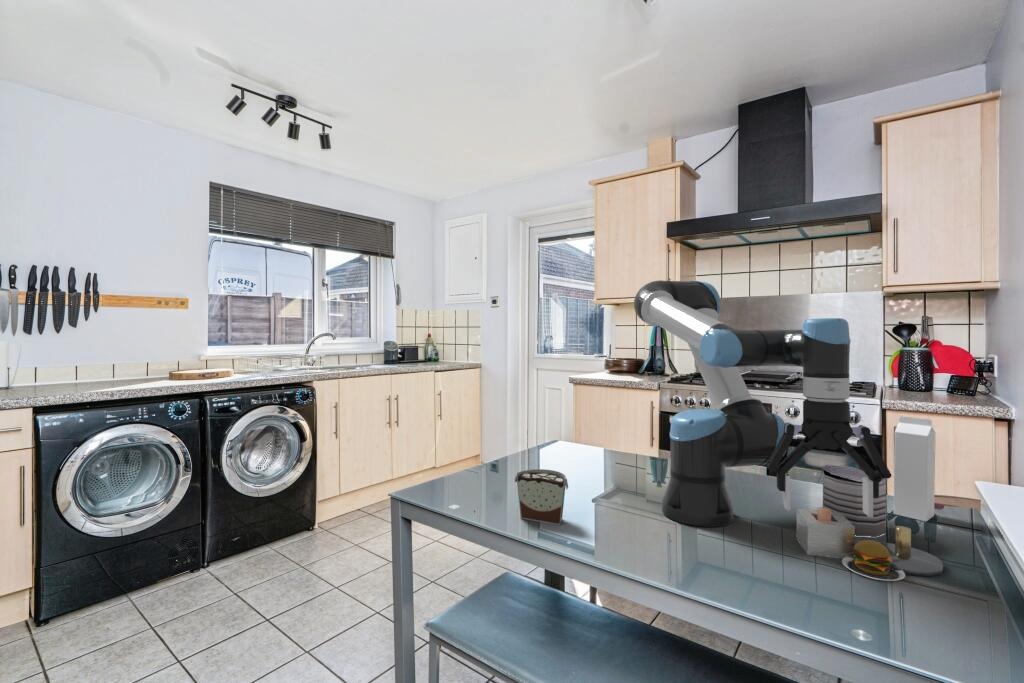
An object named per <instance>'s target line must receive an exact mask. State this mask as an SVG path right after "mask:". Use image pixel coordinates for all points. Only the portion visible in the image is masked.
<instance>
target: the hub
mask: <svg viewBox="0 0 1024 683" xmlns="http://www.w3.org/2000/svg"><path fill="white" fill-rule="evenodd" d="M894 537H895V538H894V542H895V543H889V542H879V543H880V544H882V545H884V546H885V547H886V548H887V549H888V550H889V552H890V556H889V557H890V558H891V561H892V562H890V563H891V564H892V565H890V567H891V568H890V570H891V569H893V570H892V571H894V570H902V571H903V572H904V574H906V573H907V575H911V574H912V575H911V576H920V577H934V576H940V575H942V574H943V572H944V563H943V561H942V560H940V559H939V558H938V557H937V556H935V555H934V554H931V553H929V552H927V551H924V550H921V549H918V548H914V547H912V529H911V528H910V527H908V526H904V525H896V526H895V536H894Z"/></svg>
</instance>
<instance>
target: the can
mask: <svg viewBox="0 0 1024 683" xmlns="http://www.w3.org/2000/svg"><path fill="white" fill-rule="evenodd" d="M820 468H821V469H822V508H827V509H830V510H831V512H840V513H841V514H842V515H843V516H844V517H845V518H846V519H847V520H848V521H849V522H850V523H851V524H852V525H853V526H854V527H855V535H856V536H871V537H877V536H880V535H882V534H885V535H886V529H887V528H886V525H887V524H886V521H887V481H888V478H884V479H882V480H881V482H879V496H878V498H873V517H868V516H867V515H866V514H865V513H864V512H863V477H864V478H868V476H867V475H866V474H865V473H864V472H863V470H862V469H861V468H856V467H852V466H848V465H847V466H844V465H834V464H826V465H824V466H821V467H820Z"/></svg>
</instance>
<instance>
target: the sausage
mask: <svg viewBox="0 0 1024 683" xmlns="http://www.w3.org/2000/svg"><path fill="white" fill-rule="evenodd" d="M817 511H818V515H817V520H822V521H831V510H830V509H827V508H823V507H818V508H817Z"/></svg>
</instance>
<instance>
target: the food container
mask: <svg viewBox="0 0 1024 683" xmlns="http://www.w3.org/2000/svg"><path fill="white" fill-rule="evenodd" d="M514 477H515V478H514V483H517V493H518V504H519V505H518V506H519V517H520V519H522V520H523V519H524V520H528V521H534V522H540V523H545V524H552V525H557V526H561V525H562V524H563V513H564V506H565V504H564V503H565V494H566V490H568V489H569V483H568V482H569V481H568V479H567V477H566V475H565V473H562V472H560V471H556V470H551V469H544V468H543V469H542V468H541V469H540V468H539V469H537V468H536V469H526V470H520V471H518V472H516V475H515V476H514Z"/></svg>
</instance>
